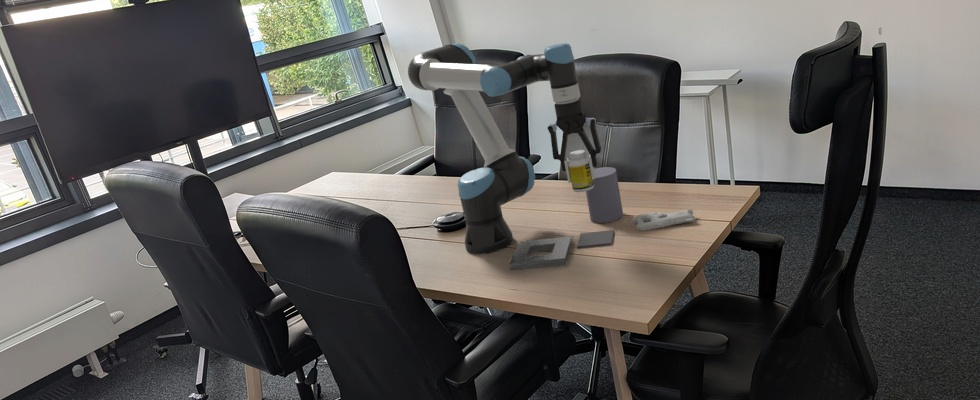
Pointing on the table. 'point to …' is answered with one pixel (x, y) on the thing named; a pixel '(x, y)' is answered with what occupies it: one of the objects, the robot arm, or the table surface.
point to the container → (605, 196)
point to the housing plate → (558, 256)
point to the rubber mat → (595, 239)
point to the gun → (662, 219)
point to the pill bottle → (580, 171)
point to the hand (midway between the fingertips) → (582, 179)
